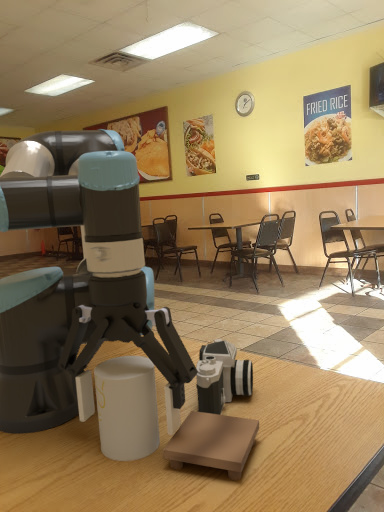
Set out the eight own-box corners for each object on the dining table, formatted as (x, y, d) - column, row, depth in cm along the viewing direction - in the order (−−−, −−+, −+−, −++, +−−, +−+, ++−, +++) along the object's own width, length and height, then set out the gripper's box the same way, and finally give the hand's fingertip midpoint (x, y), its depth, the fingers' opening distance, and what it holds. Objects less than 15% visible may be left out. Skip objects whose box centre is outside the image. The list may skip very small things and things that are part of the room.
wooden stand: (164, 474, 55) (163, 449, 55) (192, 432, 64) (191, 410, 64) (242, 489, 51) (241, 463, 51) (259, 442, 61) (259, 420, 60)
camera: (247, 425, 66) (245, 362, 64) (191, 422, 67) (188, 360, 66) (255, 380, 81) (253, 328, 79) (209, 378, 83) (206, 327, 81)
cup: (112, 431, 66) (105, 355, 64) (165, 432, 65) (159, 355, 63) (93, 465, 58) (84, 379, 56) (152, 467, 57) (146, 379, 55)
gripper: (21, 276, 59) (38, 424, 61) (195, 278, 50) (205, 451, 52) (57, 266, 65) (70, 400, 68) (215, 267, 57) (223, 420, 59)
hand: (129, 423), depth 60 cm, fingers open, 13 cm apart
